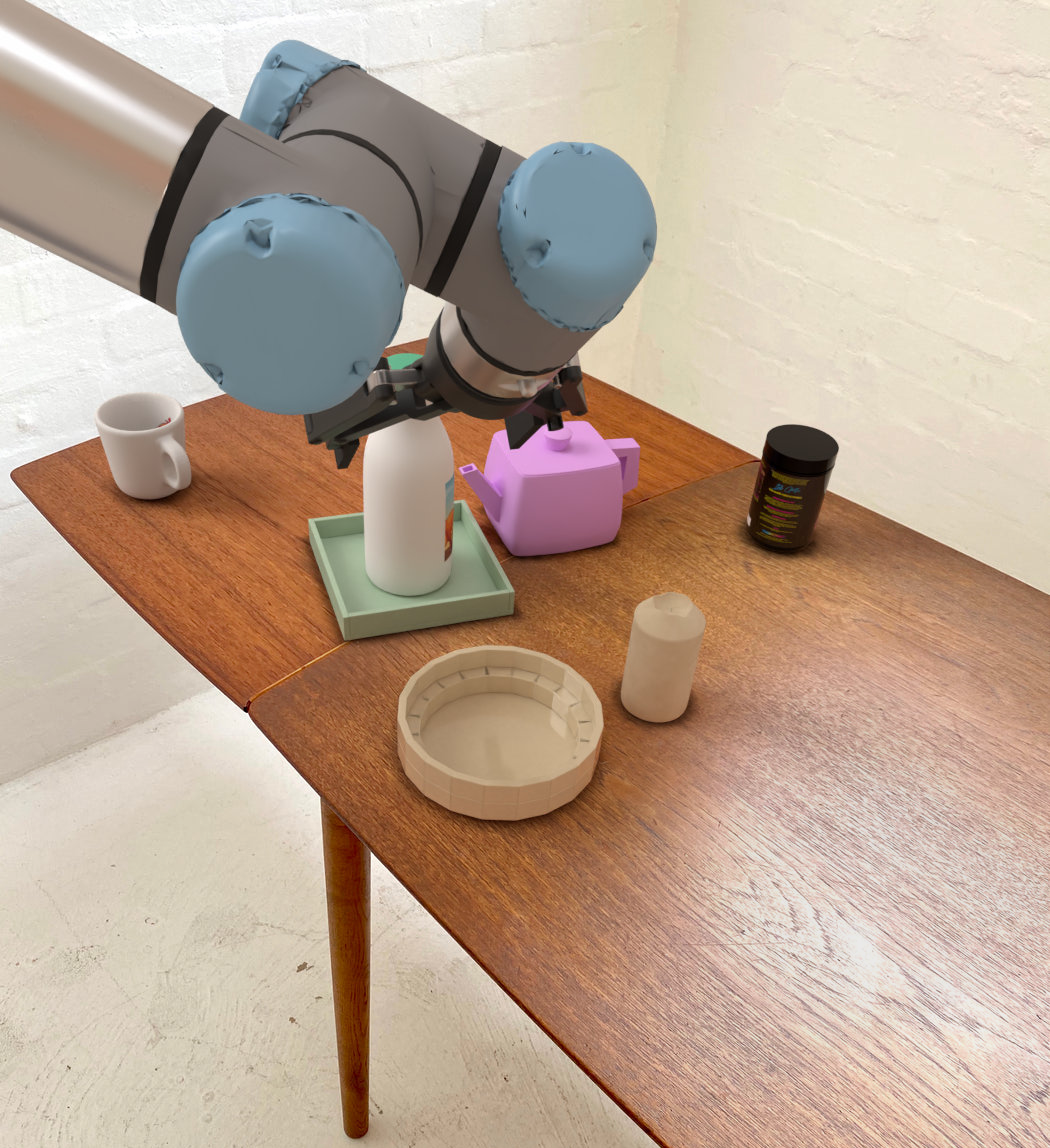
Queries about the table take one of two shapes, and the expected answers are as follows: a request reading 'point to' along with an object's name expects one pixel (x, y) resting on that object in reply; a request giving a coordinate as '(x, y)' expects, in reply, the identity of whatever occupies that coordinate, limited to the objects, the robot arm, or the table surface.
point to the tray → (375, 612)
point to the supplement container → (790, 487)
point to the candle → (662, 657)
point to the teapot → (556, 488)
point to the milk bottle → (408, 503)
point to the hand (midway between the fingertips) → (427, 441)
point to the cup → (145, 443)
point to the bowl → (499, 732)
